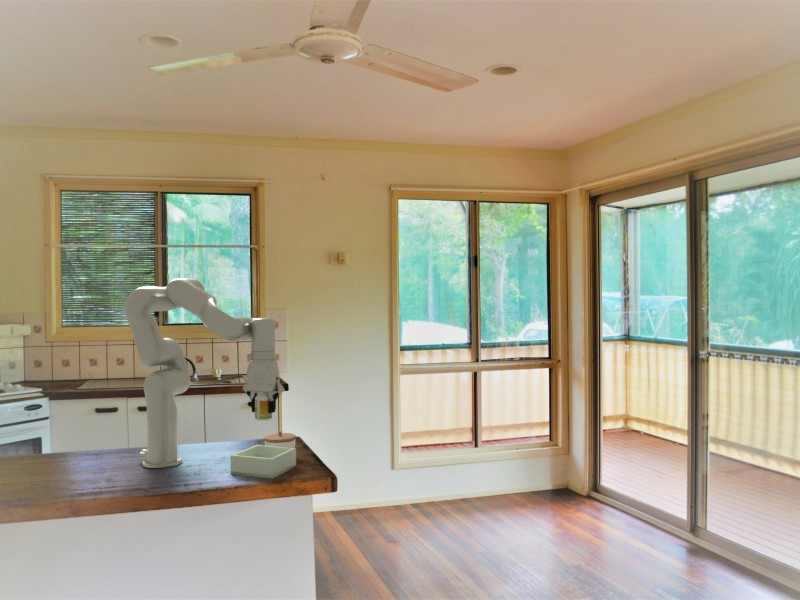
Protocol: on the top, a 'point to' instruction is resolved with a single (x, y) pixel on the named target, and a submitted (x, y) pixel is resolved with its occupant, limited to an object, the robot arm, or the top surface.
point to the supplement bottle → (262, 406)
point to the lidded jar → (280, 440)
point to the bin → (263, 461)
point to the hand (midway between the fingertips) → (263, 411)
